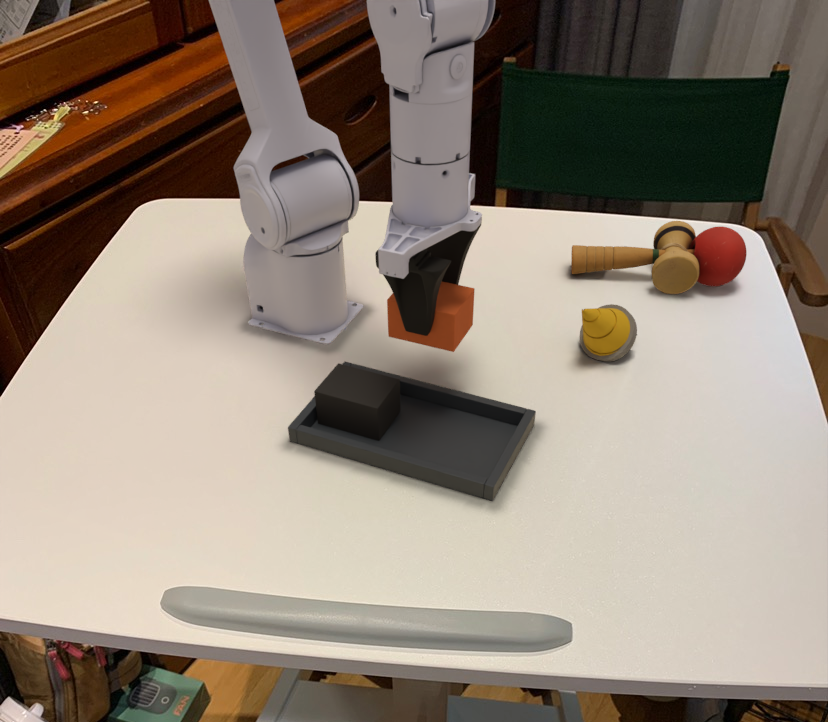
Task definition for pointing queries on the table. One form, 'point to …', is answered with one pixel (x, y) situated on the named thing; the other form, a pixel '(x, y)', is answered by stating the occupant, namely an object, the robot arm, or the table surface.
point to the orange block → (439, 318)
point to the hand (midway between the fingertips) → (429, 316)
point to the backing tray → (432, 437)
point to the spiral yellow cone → (607, 332)
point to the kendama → (673, 257)
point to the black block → (358, 401)
